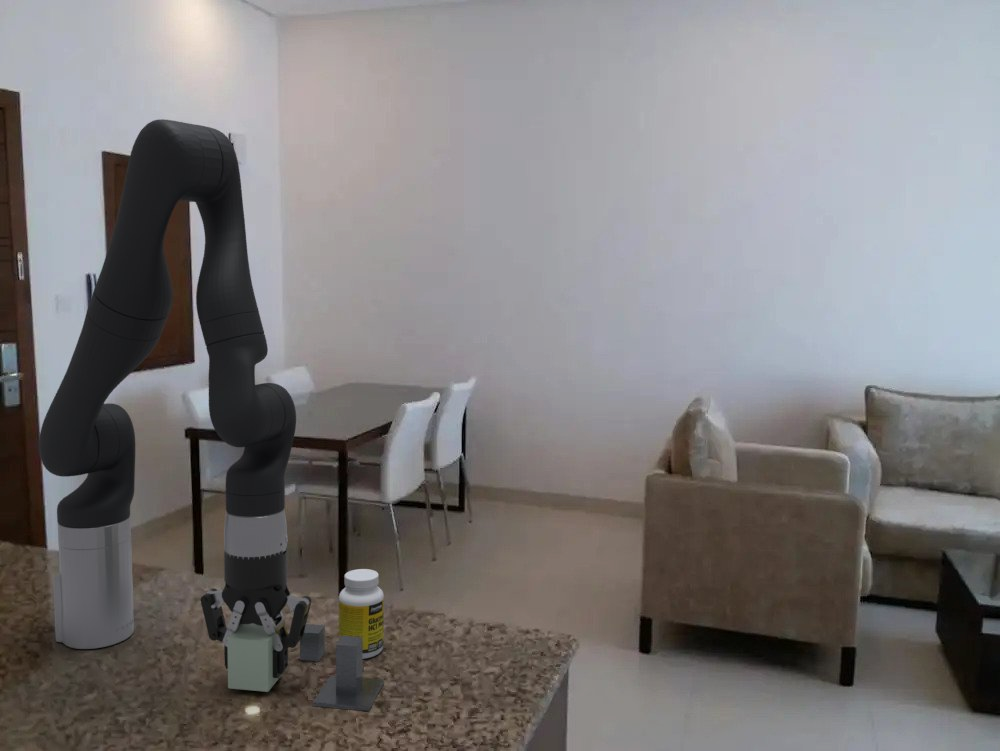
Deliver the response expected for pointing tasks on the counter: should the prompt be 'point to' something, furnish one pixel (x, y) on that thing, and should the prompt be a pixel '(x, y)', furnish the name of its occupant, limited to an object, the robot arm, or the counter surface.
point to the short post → (312, 643)
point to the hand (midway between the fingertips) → (256, 672)
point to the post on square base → (349, 680)
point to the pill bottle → (362, 610)
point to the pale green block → (250, 659)
